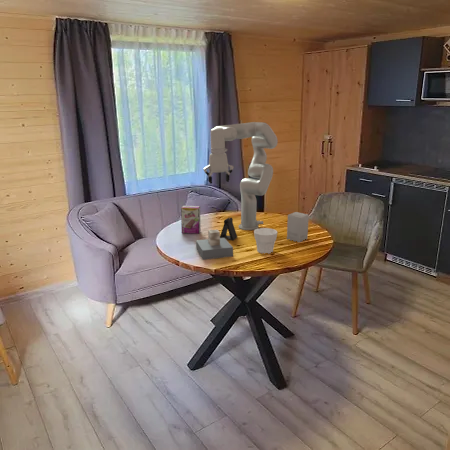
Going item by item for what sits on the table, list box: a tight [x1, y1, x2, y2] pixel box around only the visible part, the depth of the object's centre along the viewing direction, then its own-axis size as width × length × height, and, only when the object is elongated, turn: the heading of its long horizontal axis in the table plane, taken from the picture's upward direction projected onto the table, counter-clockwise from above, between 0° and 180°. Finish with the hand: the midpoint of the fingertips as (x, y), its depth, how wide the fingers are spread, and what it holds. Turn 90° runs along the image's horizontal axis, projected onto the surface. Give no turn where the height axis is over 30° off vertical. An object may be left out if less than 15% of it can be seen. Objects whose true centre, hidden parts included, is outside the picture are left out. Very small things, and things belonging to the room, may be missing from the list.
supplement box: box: [286, 211, 310, 243], centre depth 236 cm, size 9×9×15 cm
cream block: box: [207, 229, 221, 246], centre depth 215 cm, size 5×5×7 cm
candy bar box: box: [180, 205, 201, 235], centre depth 247 cm, size 11×5×16 cm, turn 84°
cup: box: [253, 227, 278, 255], centre depth 218 cm, size 12×12×11 cm
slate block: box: [195, 238, 234, 260], centre depth 216 cm, size 16×16×5 cm
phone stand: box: [220, 216, 238, 241], centre depth 238 cm, size 9×6×12 cm, turn 66°
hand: (219, 182), depth 228 cm, fingers open, 9 cm apart
